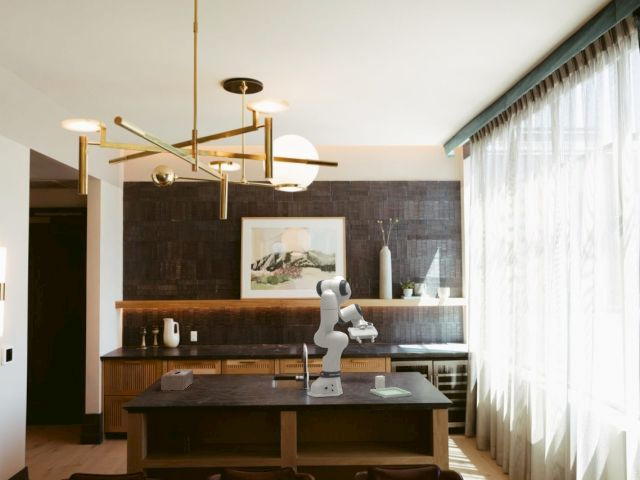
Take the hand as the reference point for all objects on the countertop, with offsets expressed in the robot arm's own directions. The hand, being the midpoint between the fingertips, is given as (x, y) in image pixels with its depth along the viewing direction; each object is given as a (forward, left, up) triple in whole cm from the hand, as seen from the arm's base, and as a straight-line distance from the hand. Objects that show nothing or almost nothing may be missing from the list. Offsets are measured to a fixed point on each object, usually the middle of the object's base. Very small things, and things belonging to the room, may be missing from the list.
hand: (367, 342), depth 404 cm
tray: (-3, -37, -28) cm, 46 cm away
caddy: (0, -18, -28) cm, 33 cm away
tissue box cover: (-120, +44, -29) cm, 131 cm away
